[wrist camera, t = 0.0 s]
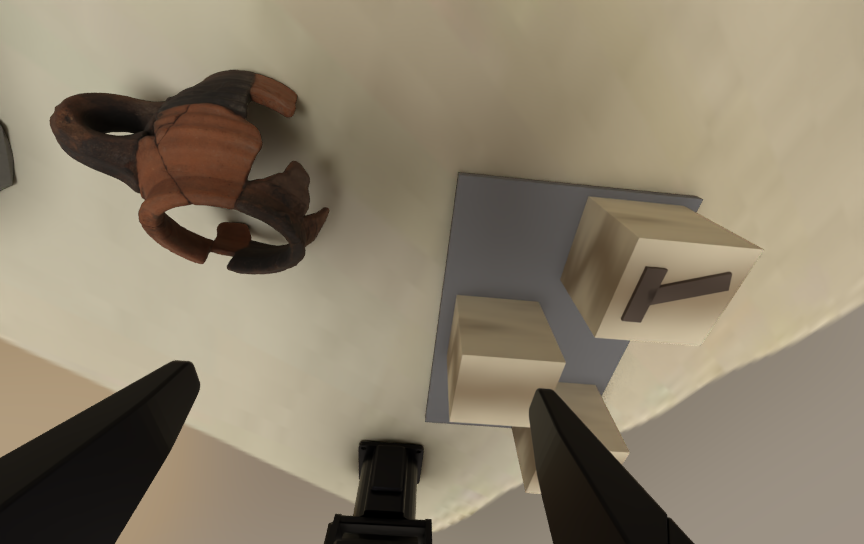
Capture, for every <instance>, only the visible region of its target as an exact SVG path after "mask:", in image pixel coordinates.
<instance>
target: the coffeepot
mask: <svg viewBox="0 0 864 544" xmlns="http://www.w3.org/2000/svg"><path fill="white" fill-rule="evenodd" d="M13 169H14V168H13V155H12V151H11V147H10V144H9V141H8V139H7V137H6V135H5V133H4V131H3V128H2V126H1V125H0V191H1V190H2V189H4V188H6V187H8V186H11V185H12V181H13Z"/></svg>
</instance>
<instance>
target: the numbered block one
mask: <svg viewBox="0 0 864 544" xmlns="http://www.w3.org/2000/svg"><path fill="white" fill-rule="evenodd" d="M555 392H556V393H557V394H558V395H559V396H560V398H561V399H562V400H563V401H564V402H565V403H566V404H567V405H568V406H569V407H570V409H571V410H572V411H573V412H574V413H575V414H576V415H577V416H578V417H579V418H580V419H581V421H582V422H583V423H584V424H585V425H586V426H587V427H588V428H589V429H590V430H591V432H592V433H593V434H594V435H595V436H596V437H597V438H598V439H599V440H600V441H601V442H602V444H603V445H604V446H605V447H606V448H607V449H608V450H609V451H610V452H611V453H612V454H613V456H614V457H615V458H616V459H617V460H618V461H619V462H620V463H621V464H623V462H624V461H625V459H626V458H627V456H628V455H629V453H630V452H629V450H628V448H627V446H626V444H625V442H624V440H623V438H622V436H621V434H620V432H619V430H618V428H617V426H616V424H615V422H614V420H613V418H612V417H611V415H610V413H609V411H608V409H607V407H606V405H605V403H604V401H603V399H602V397H601V395H600V393H599V391H598V389H597V387H596V385H590V384H577V383H563V382H558V384H557V386H556V389H555ZM511 427H512V431H513V436H514V441H515V445H516V450H517V455H518V459H519V464H520V469H521V473H522V478H523V483H524V487H525V492H526V493H536V494H541V491H540V487H539V482H538V478H537V472H536V466H535V459H534V451H533V444H532V437H531V429H530V427H516V426H511Z"/></svg>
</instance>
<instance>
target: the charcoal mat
mask: <svg viewBox="0 0 864 544" xmlns="http://www.w3.org/2000/svg"><path fill="white" fill-rule="evenodd" d="M588 196H590V197H600V198H611V199H621V200H631V201H641V202H651V203H661V204H671V205H681V206H685V207H687V208H689V209H690V210H692V211H694V212H697V210H698V208H699V207H700V205H701V203H702V201H703V199H701V198H699V197H697V196H688V195H678V194H668V193H658V192H648V191H638V190H629V189H619V188H609V187H599V186H589V185H579V184H569V183H559V182H549V181H539V180H529V179H519V178H509V177H499V176H489V175H480V174H470V173H460V172H459V173H458V180H457V187H456V195H455V202H454V209H453V217H452V224H451V232H450V239H449V246H448V254H447V261H446V268H445V276H444V283H443V291H442V298H441V305H440V313H439V320H438V327H437V335H436V342H435V349H434V357H433V364H432V372H431V379H430V386H429V394H428V401H427V408H426V416H425V422H433V423H447V424H462V425H476V426H491V427H505V428H512V427H511V426H502V425H488V424H473V423H459V422H449V398H448V374H447V352H448V345H449V339H450V333H451V327H452V321H453V315H454V308H455V302H456V296H457V295H465V296H476V297H488V298H500V299H512V300H523V301H535V302H539V304H540V306H541V308H542V310H543V312H544V315H545V317H546V319H547V321H548V324H549V326H550V328H551V330H552V333H553V335H554V337H555V339H556V341H557V344H558V346H559V348H560V350H561V353H562V355H563V357H564V359H565V361H566V364H565V367H564V369H563V371H562V374H561V376H560V379H559V381H558V382H563V383H577V384H590V385H596V387H597V389H598V391H599V393H600V395H601V396H602V394H603V392H604V390H605V388H606V386H607V384H608V382H609V381H610V379H611V377H612V375H613V373H614V371H615V369H616V367H617V365H618V363H619V361H620V359H621V357H622V355H623V353H624V352H625V350H626V348H627V346H628V344H629V342H630V340H618V339H605V338H595V337H594V335H593V334H592V332H591V330H590V329H589V327H588V325H587V324H586V322H585V320H584V319H583V317H582V315H581V314H580V312H579V310H578V309H577V307H576V305H575V304H574V302H573V300H572V299H571V297H570V295H569V294H568V292H567V290H566V289H565V287H564V285H563V284H562V282H561V280H560V279H561V276H562V273H563V270H564V267H565V264H566V261H567V258H568V255H569V252H570V249H571V246H572V243H573V240H574V237H575V234H576V231H577V229H578V226H579V223H580V220H581V217H582V214H583V211H584V208H585V205H586V202H587V199H588Z"/></svg>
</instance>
